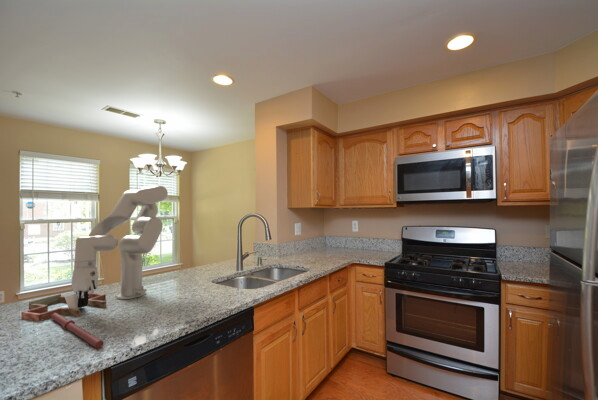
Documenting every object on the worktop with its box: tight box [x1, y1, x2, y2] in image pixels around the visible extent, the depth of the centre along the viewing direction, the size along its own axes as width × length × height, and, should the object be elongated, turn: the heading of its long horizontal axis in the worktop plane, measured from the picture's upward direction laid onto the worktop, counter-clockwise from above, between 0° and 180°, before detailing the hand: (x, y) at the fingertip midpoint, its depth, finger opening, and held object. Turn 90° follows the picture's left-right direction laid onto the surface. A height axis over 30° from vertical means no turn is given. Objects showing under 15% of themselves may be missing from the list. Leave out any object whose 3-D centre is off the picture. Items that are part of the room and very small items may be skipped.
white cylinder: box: [65, 292, 81, 310], centre depth 118 cm, size 7×7×7 cm
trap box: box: [20, 292, 107, 322], centre depth 121 cm, size 32×27×4 cm
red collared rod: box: [50, 313, 104, 349], centre depth 96 cm, size 45×3×3 cm, turn 57°
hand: (82, 306), depth 116 cm, fingers closed
